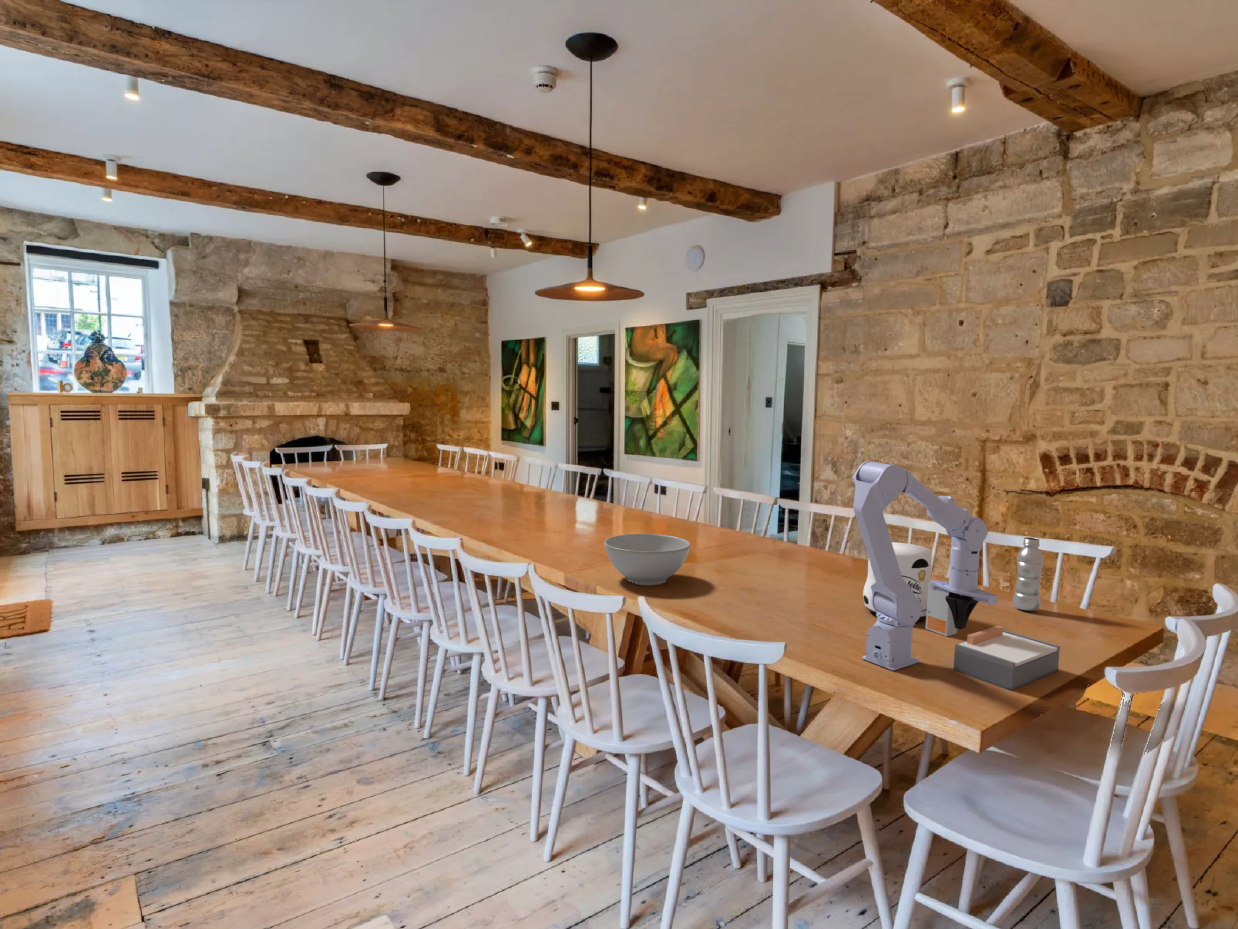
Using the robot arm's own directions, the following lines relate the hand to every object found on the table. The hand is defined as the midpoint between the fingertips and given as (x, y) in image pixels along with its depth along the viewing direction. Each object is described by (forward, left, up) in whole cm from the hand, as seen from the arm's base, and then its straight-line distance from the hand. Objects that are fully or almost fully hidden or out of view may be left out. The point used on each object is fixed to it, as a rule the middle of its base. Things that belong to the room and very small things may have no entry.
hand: (960, 627), depth 153 cm
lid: (0, -10, -1) cm, 11 cm away
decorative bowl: (-25, +87, -6) cm, 90 cm away
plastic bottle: (+49, +10, -6) cm, 50 cm away
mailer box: (0, -10, -6) cm, 12 cm away
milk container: (+14, +26, -6) cm, 30 cm away
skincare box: (+11, +11, -6) cm, 17 cm away
